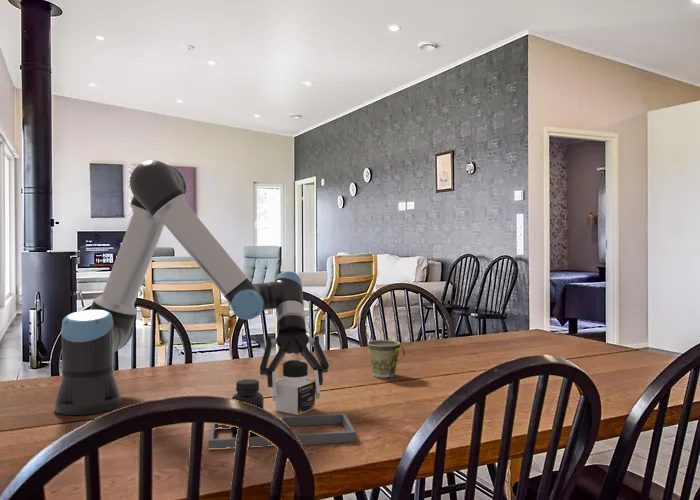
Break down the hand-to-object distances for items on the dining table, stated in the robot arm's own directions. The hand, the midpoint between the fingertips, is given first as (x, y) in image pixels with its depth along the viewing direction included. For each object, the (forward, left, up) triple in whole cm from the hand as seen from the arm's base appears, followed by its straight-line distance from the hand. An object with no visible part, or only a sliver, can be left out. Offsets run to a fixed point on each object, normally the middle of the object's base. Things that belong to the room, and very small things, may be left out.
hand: (296, 397), depth 144 cm
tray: (-8, -13, -4) cm, 16 cm away
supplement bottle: (-15, -11, -4) cm, 19 cm away
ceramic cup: (+38, +23, -4) cm, 45 cm away
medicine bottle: (+1, +3, -4) cm, 5 cm away
